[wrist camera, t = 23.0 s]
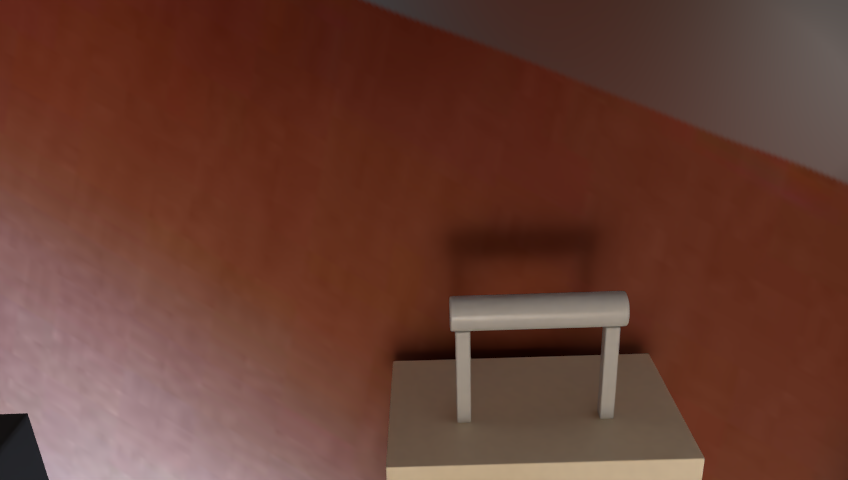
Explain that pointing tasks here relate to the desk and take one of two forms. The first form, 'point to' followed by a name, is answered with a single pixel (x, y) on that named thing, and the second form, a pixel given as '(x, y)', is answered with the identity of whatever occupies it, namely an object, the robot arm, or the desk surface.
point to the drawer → (537, 403)
